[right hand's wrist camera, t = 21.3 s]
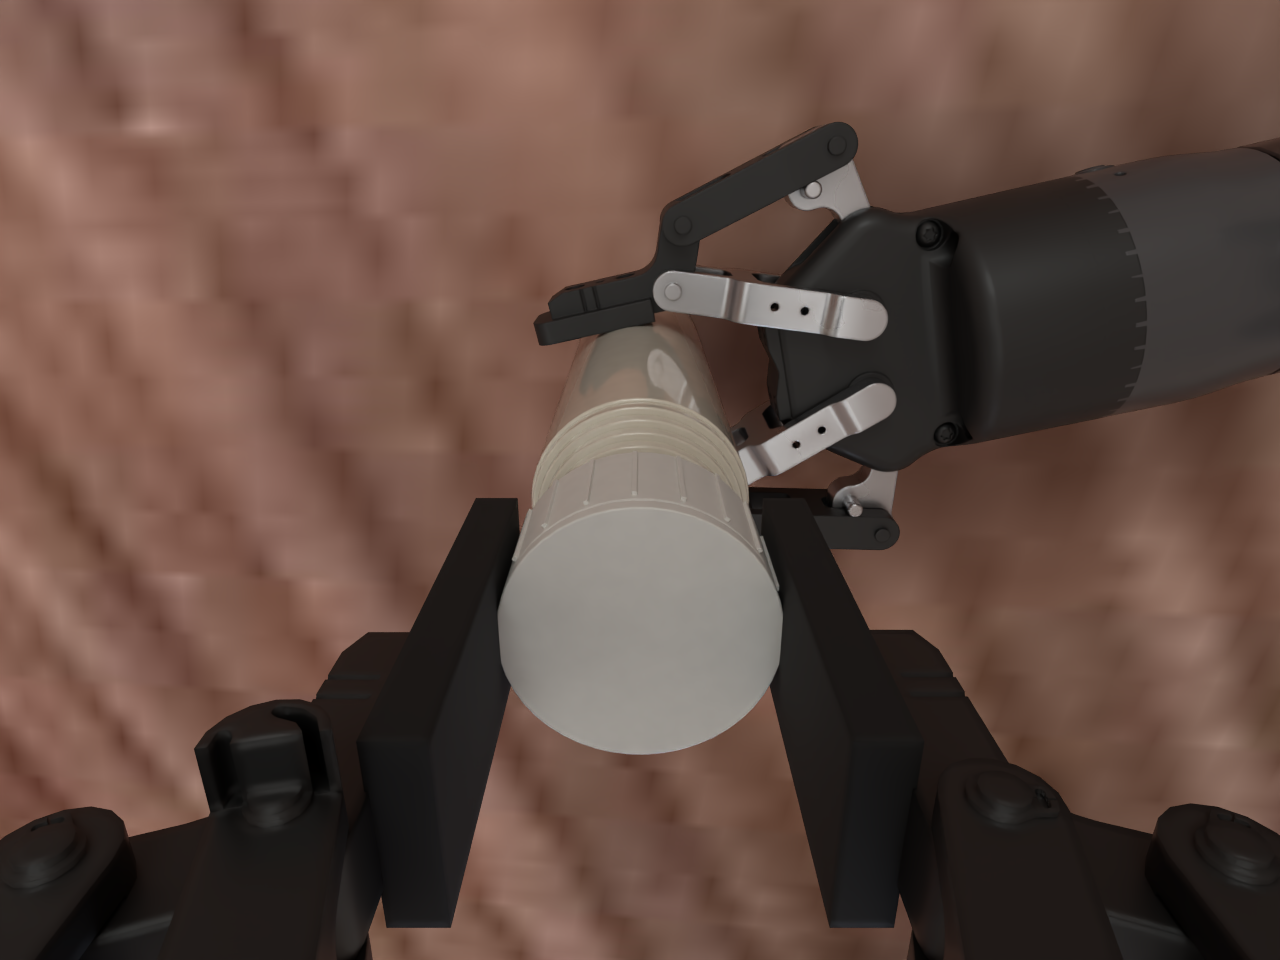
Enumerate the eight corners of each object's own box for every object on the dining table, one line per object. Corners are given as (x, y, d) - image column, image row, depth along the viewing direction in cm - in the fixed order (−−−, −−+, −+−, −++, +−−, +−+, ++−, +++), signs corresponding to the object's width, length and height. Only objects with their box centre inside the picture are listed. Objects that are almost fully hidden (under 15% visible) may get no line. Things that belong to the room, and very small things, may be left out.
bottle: (663, 429, 33) (694, 773, 14) (559, 375, 32) (448, 666, 13) (722, 327, 31) (843, 564, 13) (614, 268, 31) (574, 428, 12)
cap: (462, 552, 15) (429, 624, 12) (656, 395, 14) (659, 441, 11) (625, 709, 16) (623, 801, 14) (814, 578, 15) (845, 653, 13)
